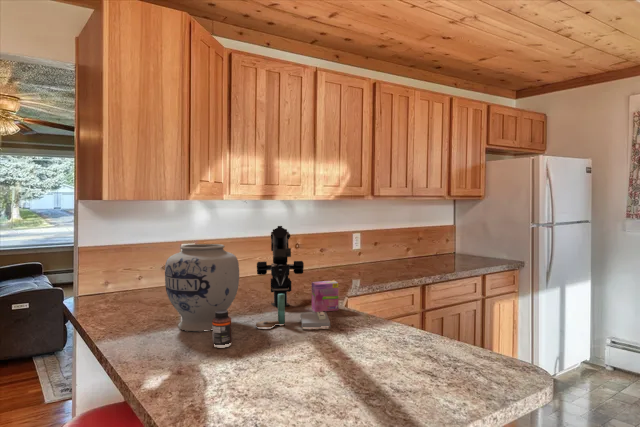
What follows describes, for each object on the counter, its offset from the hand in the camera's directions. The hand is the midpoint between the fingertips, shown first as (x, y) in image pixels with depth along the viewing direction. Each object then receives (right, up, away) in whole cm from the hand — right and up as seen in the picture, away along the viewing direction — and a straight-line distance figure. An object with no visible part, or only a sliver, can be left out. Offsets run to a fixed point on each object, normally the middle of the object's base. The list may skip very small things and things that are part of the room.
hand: (280, 285), depth 169 cm
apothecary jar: (-28, -14, -8) cm, 32 cm away
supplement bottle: (-16, -15, -31) cm, 38 cm away
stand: (+13, -13, -8) cm, 20 cm away
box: (+18, -13, +13) cm, 25 cm away
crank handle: (-3, -13, -11) cm, 17 cm away
